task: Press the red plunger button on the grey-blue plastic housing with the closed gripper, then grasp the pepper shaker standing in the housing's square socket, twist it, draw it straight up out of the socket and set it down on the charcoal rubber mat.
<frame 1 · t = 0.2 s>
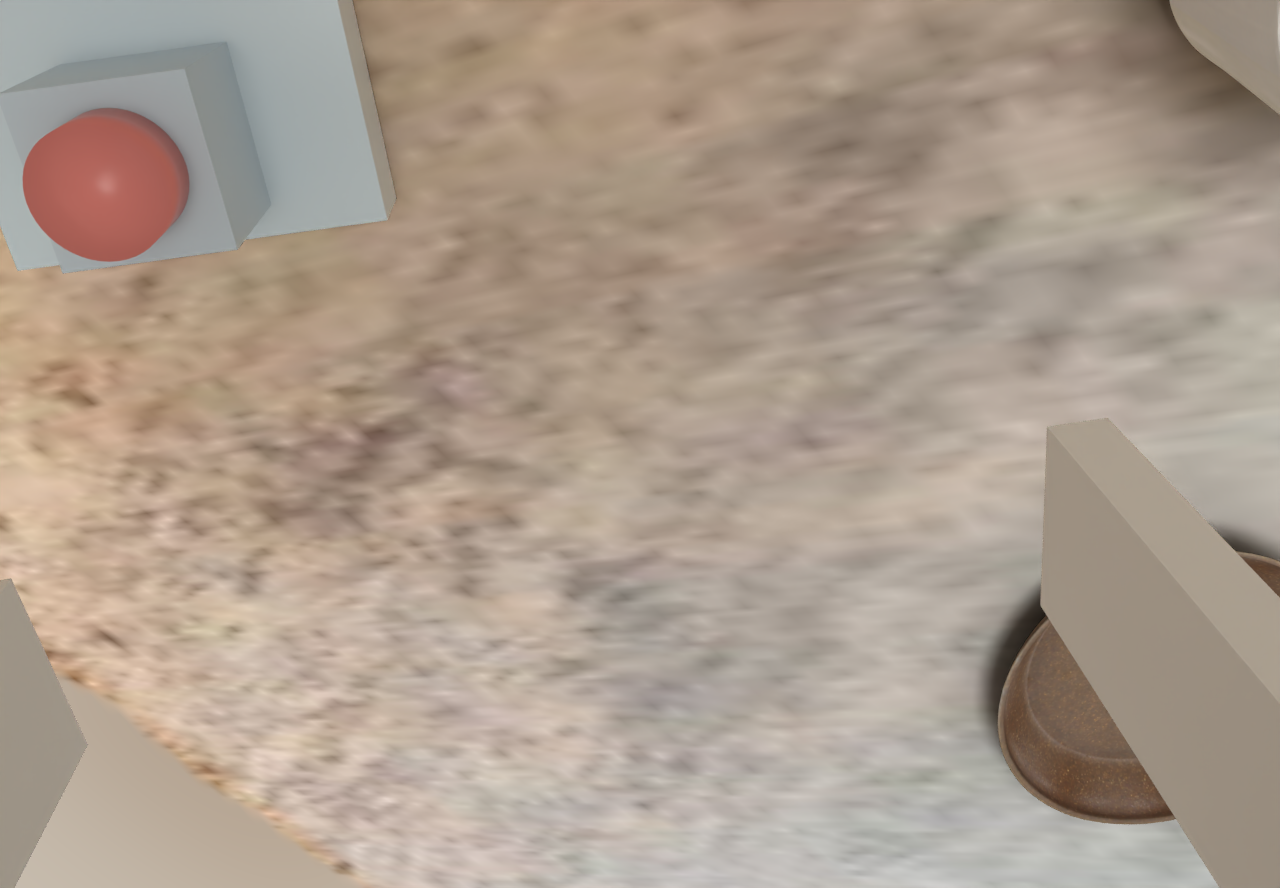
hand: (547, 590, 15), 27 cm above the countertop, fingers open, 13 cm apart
plunger: (109, 184, 31), point 8 cm above the countertop, slide at 0.0 cm, touching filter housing
saucer: (1141, 656, 52), on the countertop
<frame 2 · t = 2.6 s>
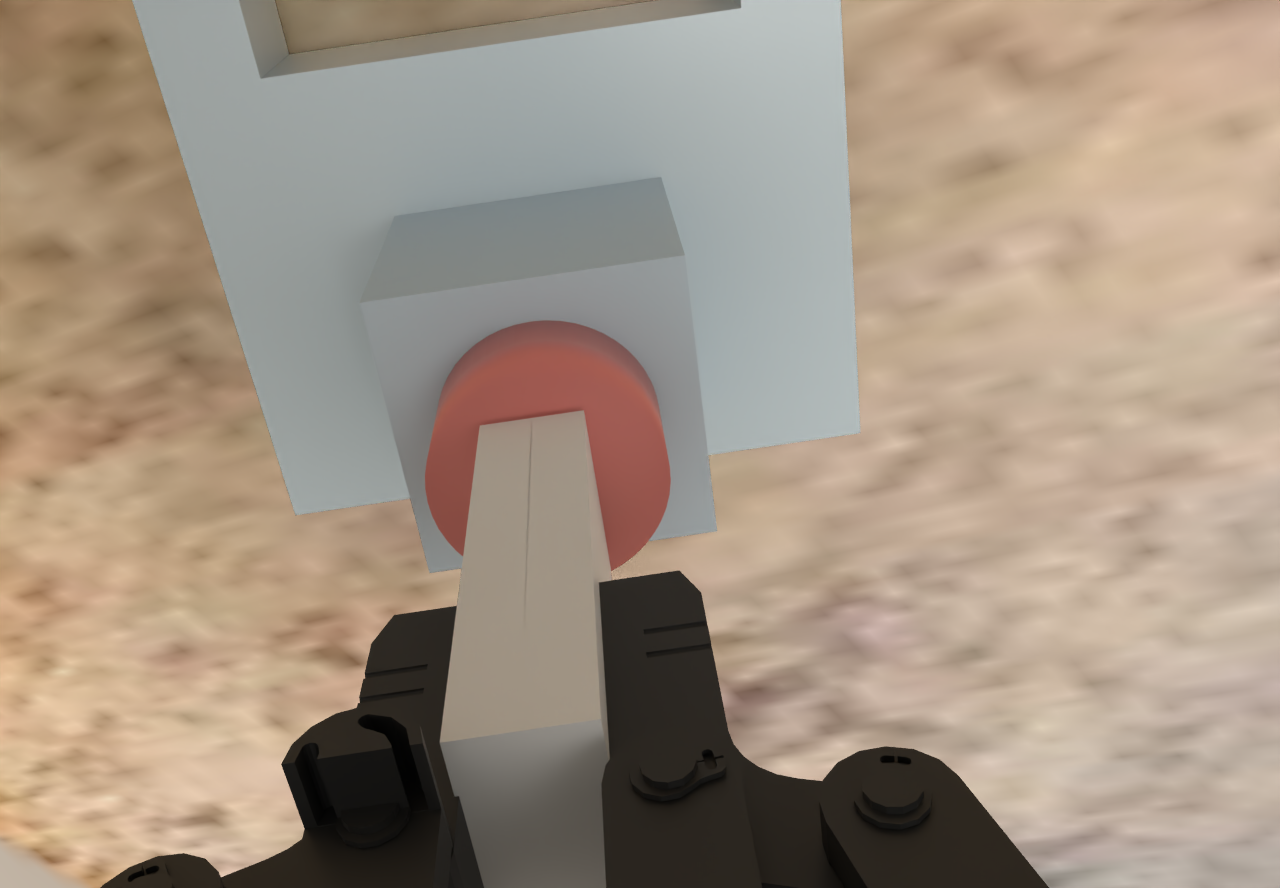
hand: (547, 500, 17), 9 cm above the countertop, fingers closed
plunger: (549, 452, 18), point 8 cm above the countertop, slide at 0.0 cm, touching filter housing, gripper
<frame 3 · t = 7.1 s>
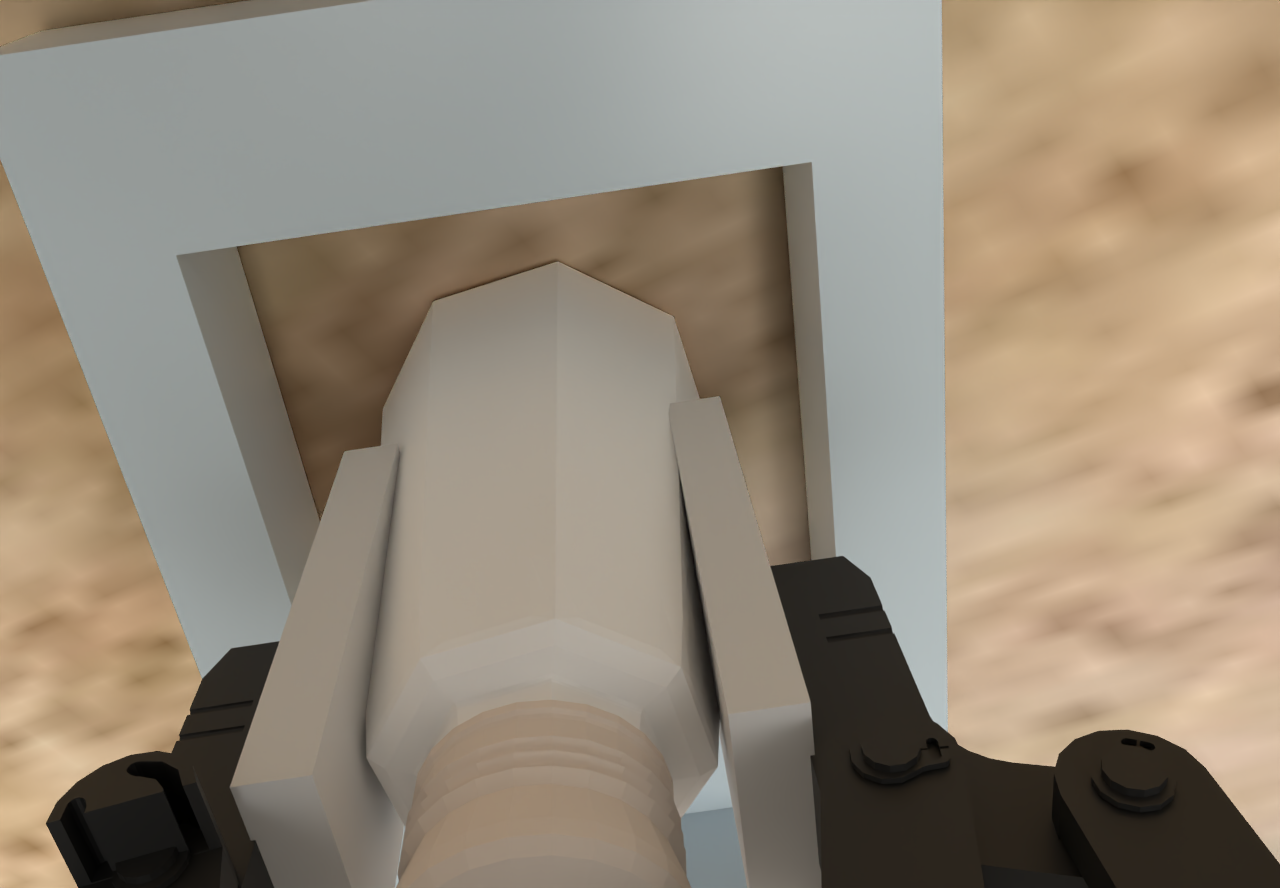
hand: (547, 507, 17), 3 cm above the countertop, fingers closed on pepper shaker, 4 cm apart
pepper shaker: (548, 407, 20), resting in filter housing, touching gripper
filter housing: (575, 559, 21), on the countertop
when the fingers open (5 cm above the countertop, at t = 12.7 s): pepper shaker drops 1 cm, resting on mat.
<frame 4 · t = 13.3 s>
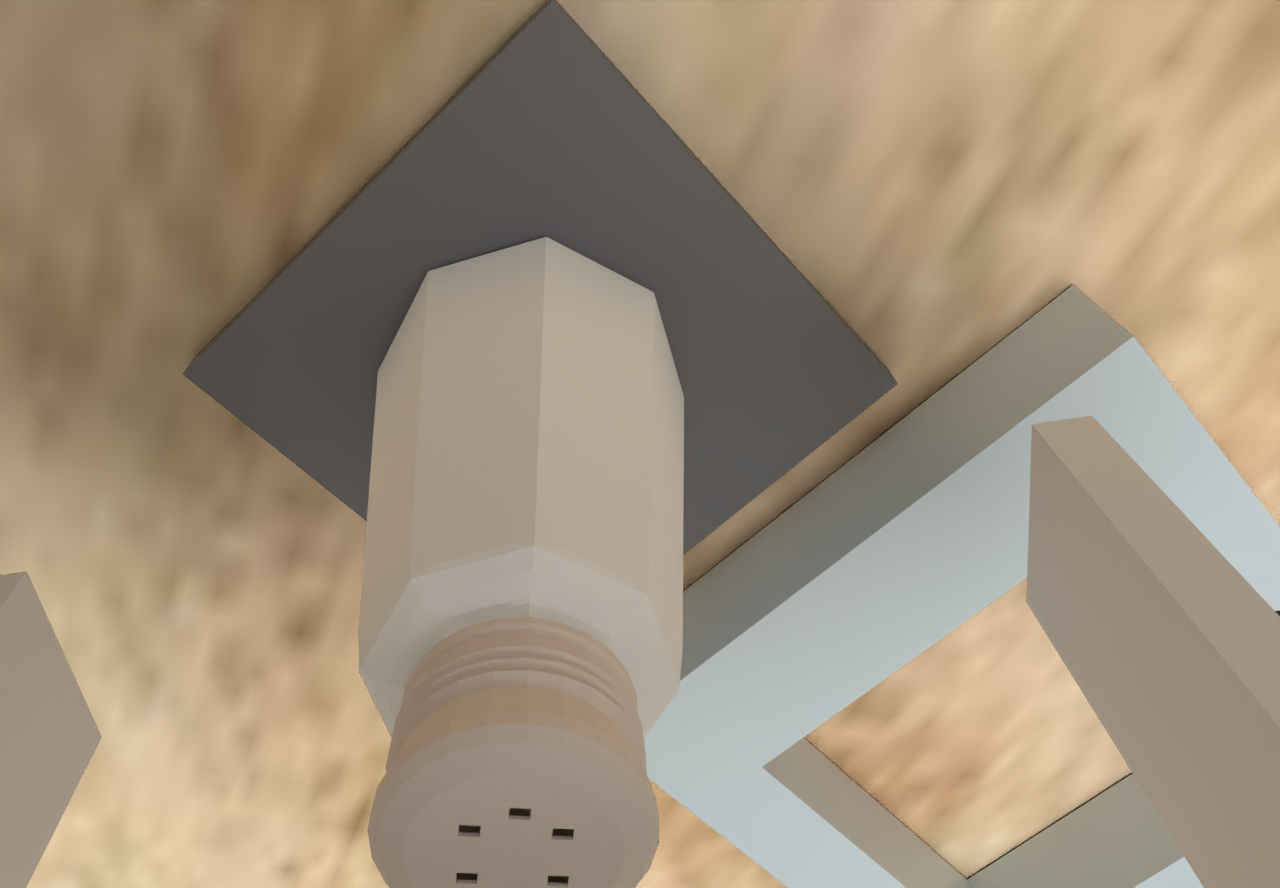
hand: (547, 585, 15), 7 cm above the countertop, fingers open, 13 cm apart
pepper shaker: (533, 375, 21), resting on mat
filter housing: (1086, 756, 27), on the countertop
mat: (548, 365, 21), on the countertop
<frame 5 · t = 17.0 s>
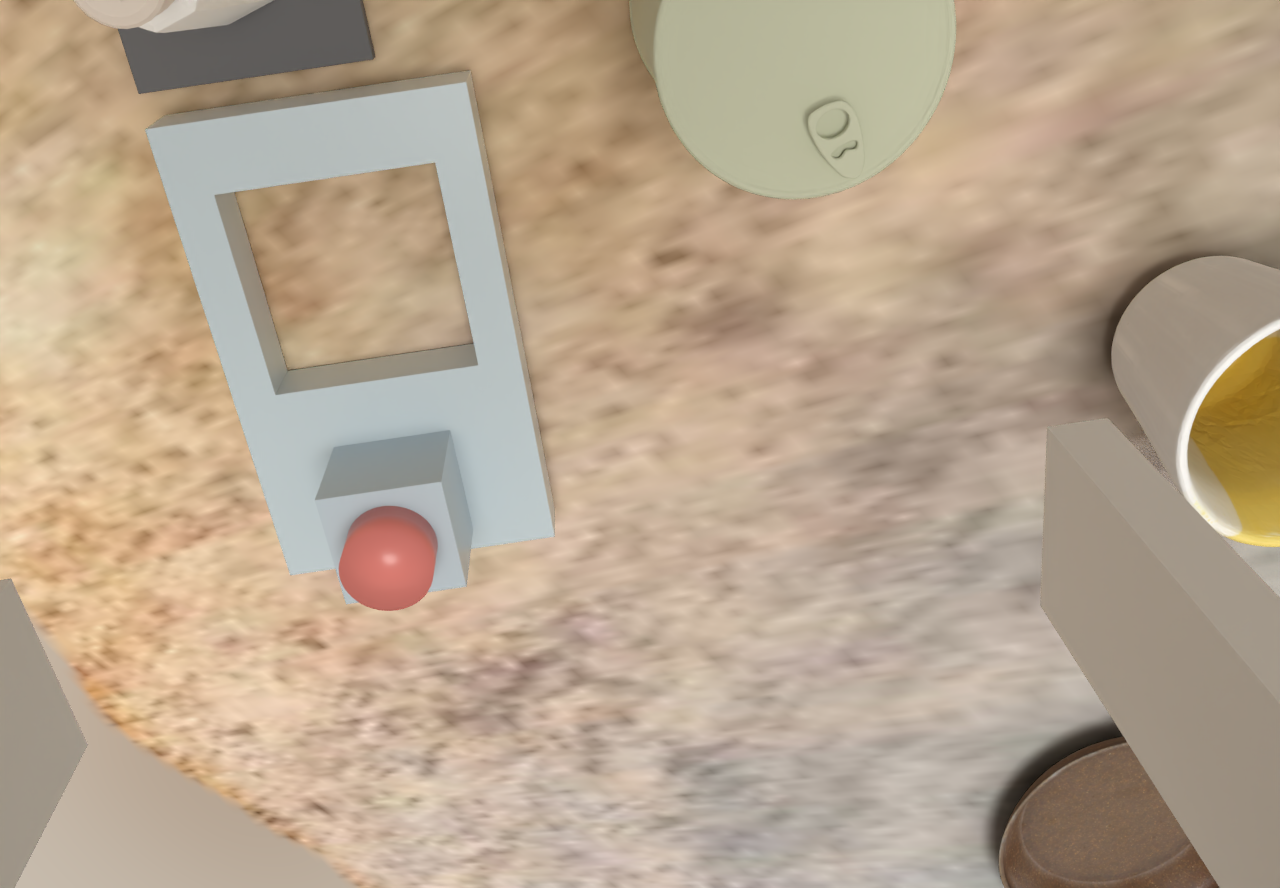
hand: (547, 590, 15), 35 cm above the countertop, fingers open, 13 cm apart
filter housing: (377, 329, 50), on the countertop
plunger: (389, 558, 46), point 8 cm above the countertop, slide at 0.0 cm, touching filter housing
mug: (1192, 354, 53), on the countertop
saucer: (1111, 805, 67), on the countertop
can: (747, 0, 45), on the countertop
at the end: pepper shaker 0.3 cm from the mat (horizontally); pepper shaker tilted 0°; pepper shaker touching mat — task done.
